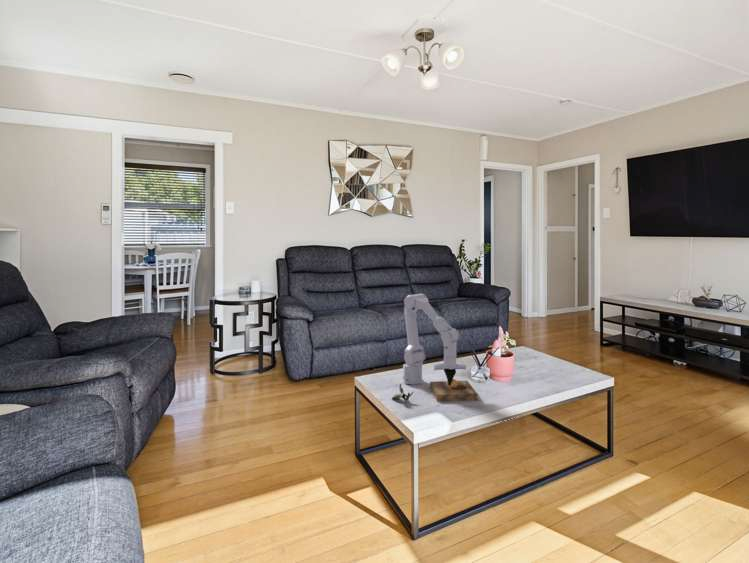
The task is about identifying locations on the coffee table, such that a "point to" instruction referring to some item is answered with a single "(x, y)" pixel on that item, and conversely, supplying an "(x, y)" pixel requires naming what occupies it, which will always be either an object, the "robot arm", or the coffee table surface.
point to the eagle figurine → (402, 395)
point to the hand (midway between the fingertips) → (449, 384)
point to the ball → (453, 383)
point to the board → (453, 391)
